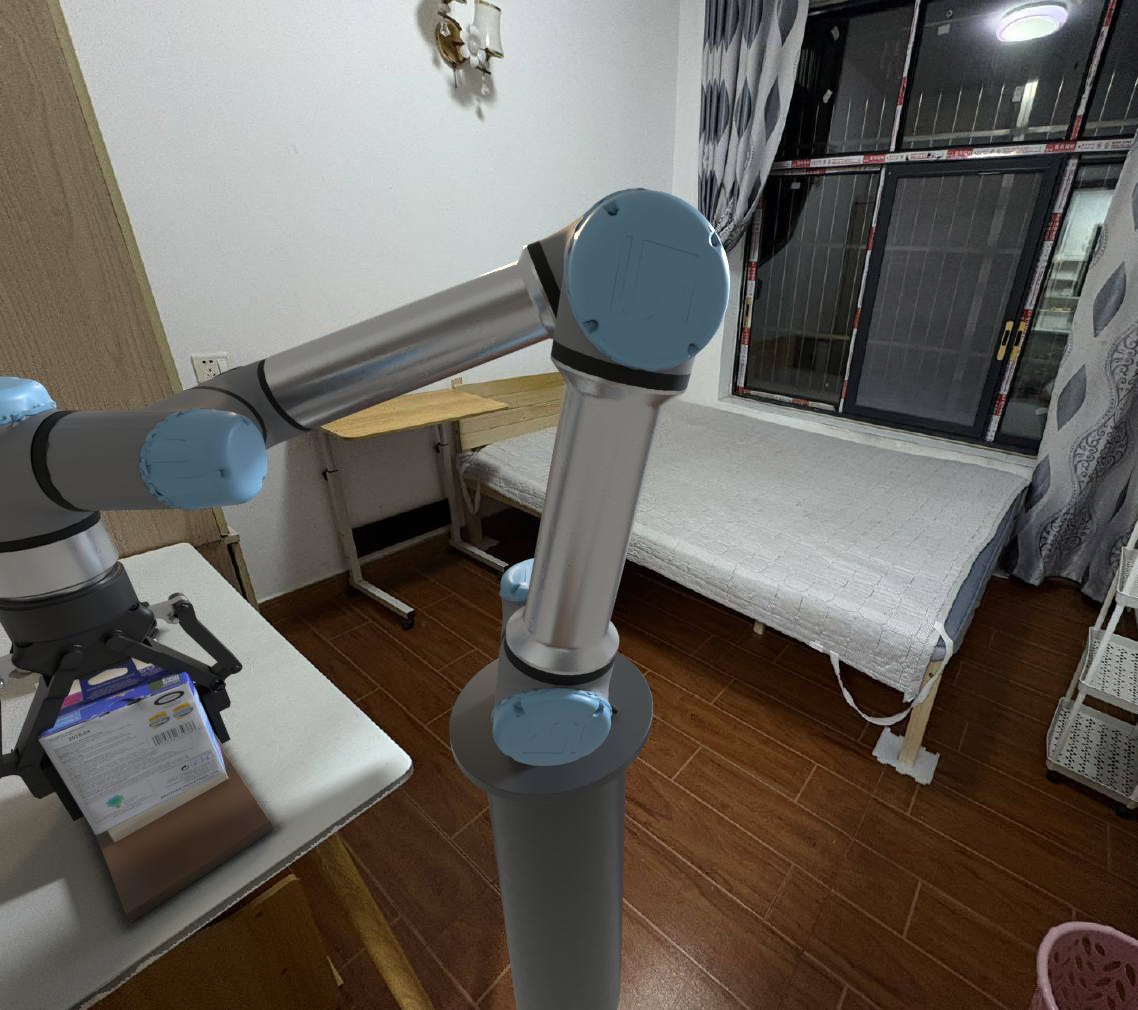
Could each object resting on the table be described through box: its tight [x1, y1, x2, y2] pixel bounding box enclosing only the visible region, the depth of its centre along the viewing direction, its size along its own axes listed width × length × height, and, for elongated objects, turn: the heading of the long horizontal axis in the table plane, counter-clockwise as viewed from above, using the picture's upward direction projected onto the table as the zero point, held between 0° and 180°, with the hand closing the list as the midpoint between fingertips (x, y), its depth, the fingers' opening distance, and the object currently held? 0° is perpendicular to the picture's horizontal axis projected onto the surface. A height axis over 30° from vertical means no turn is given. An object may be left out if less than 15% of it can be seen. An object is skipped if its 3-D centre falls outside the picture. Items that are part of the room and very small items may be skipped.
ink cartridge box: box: [38, 658, 226, 836], centre depth 51 cm, size 10×6×14 cm, turn 137°
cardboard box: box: [33, 638, 275, 923], centre depth 59 cm, size 23×12×16 cm, turn 53°
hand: (154, 769), depth 53 cm, fingers closed on ink cartridge box, 10 cm apart
